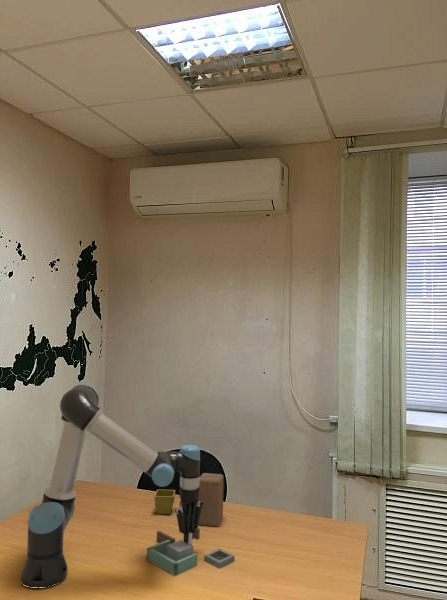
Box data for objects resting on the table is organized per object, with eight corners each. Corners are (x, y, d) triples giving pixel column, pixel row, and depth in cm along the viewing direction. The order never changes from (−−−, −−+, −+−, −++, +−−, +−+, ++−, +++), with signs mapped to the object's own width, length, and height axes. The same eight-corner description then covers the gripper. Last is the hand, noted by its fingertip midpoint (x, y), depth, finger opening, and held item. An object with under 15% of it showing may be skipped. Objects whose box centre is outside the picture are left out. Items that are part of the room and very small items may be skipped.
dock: (175, 575, 170) (175, 564, 170) (146, 559, 181) (147, 548, 181) (197, 565, 177) (197, 554, 178) (168, 549, 189) (168, 539, 189)
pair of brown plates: (172, 550, 189) (172, 539, 189) (156, 541, 196) (156, 531, 196) (199, 538, 199) (199, 528, 199) (183, 531, 206) (183, 521, 206)
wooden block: (218, 527, 210) (219, 480, 211) (196, 525, 212) (197, 478, 213) (223, 518, 220) (224, 473, 221) (201, 516, 222) (202, 472, 223)
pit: (219, 568, 175) (219, 562, 176) (204, 560, 181) (204, 555, 181) (234, 560, 181) (234, 555, 181) (219, 553, 187) (219, 548, 187)
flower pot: (172, 516, 221) (173, 496, 221) (153, 516, 221) (154, 496, 222) (175, 509, 230) (175, 489, 230) (156, 508, 230) (157, 489, 230)
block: (178, 565, 177) (179, 551, 177) (166, 558, 182) (167, 545, 182) (193, 559, 182) (193, 545, 182) (180, 552, 187) (181, 539, 187)
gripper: (195, 480, 194) (194, 541, 193) (170, 488, 184) (168, 551, 183) (208, 485, 188) (207, 547, 187) (183, 493, 179) (181, 559, 178)
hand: (188, 549), depth 185 cm, fingers closed
